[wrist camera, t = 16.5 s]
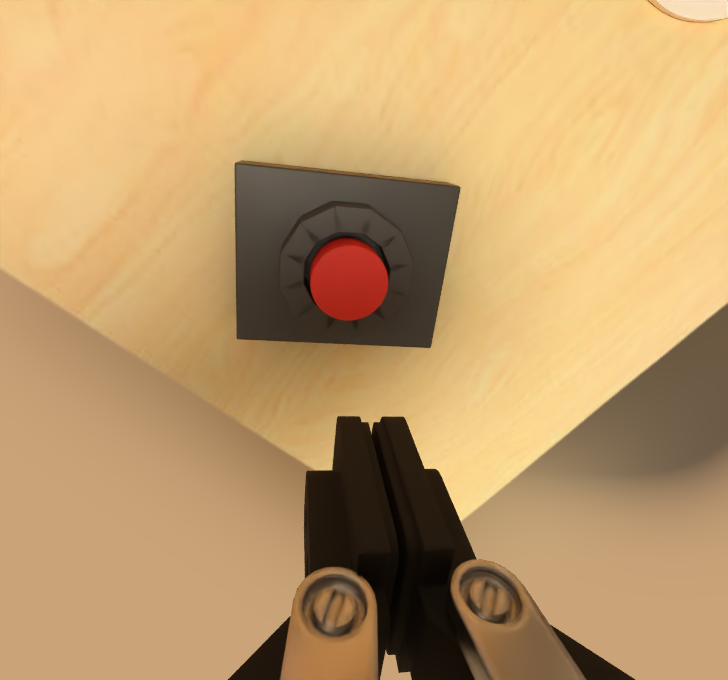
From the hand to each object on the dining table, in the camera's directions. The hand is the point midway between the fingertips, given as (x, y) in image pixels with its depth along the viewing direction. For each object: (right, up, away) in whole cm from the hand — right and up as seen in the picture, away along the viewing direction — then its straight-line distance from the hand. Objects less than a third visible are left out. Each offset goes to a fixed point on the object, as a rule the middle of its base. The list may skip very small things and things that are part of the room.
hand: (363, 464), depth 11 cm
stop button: (-1, +6, +11) cm, 12 cm away
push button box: (-1, +8, +14) cm, 16 cm away
